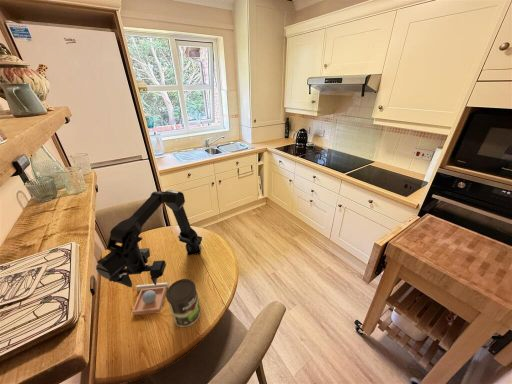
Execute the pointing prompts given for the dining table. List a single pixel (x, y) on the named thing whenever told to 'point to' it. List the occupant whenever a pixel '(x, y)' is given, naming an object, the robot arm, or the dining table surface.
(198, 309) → the coffee can
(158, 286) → the wall
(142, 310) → the dish
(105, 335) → the dining table surface
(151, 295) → the ball
